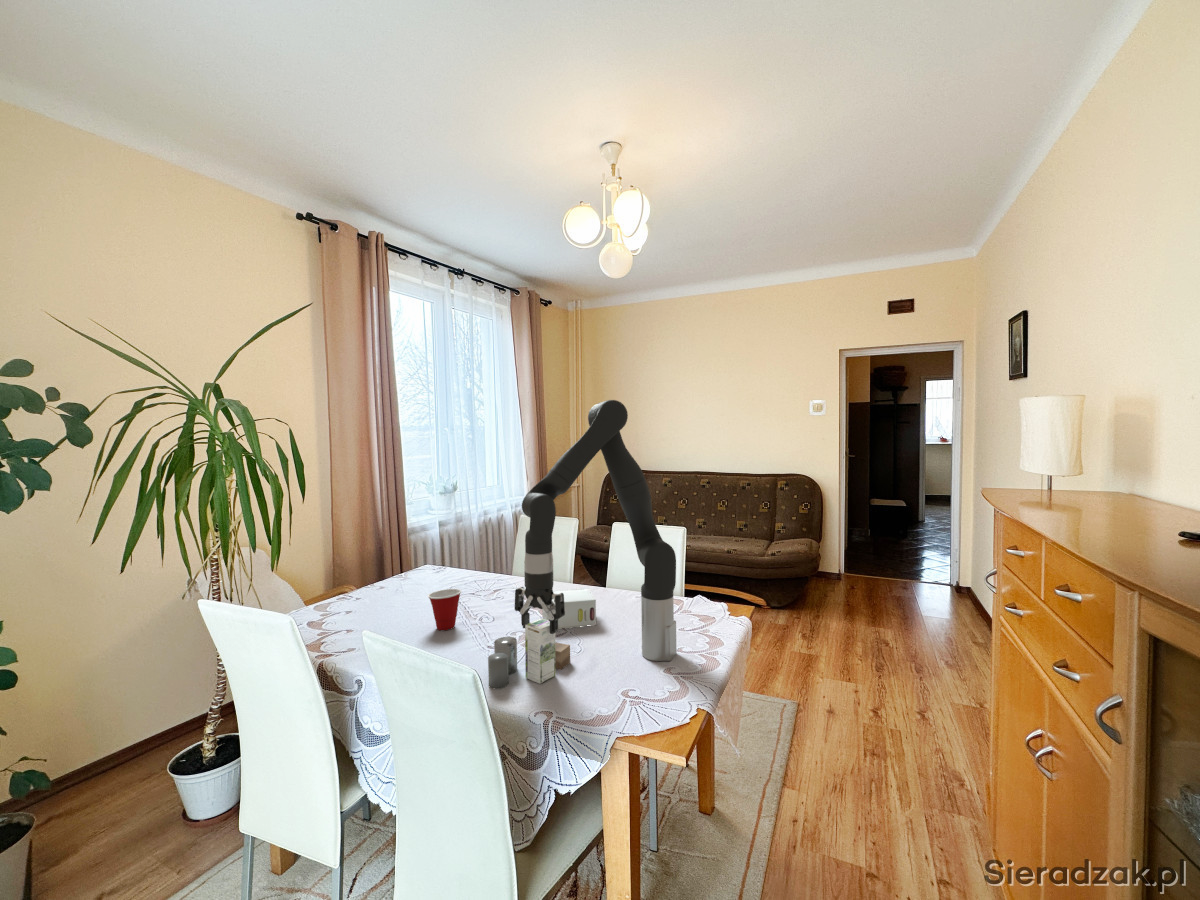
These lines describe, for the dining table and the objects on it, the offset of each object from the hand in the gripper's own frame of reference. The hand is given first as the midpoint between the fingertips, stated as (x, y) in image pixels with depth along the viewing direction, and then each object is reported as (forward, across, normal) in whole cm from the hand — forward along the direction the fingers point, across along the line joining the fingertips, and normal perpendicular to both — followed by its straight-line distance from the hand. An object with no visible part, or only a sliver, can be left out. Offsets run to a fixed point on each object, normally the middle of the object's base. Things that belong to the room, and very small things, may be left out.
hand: (539, 630), depth 132 cm
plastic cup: (+13, +49, -16) cm, 53 cm away
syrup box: (+13, 0, 0) cm, 13 cm away
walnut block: (+13, 0, -9) cm, 15 cm away
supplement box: (+13, +14, -38) cm, 42 cm away
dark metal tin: (+13, +11, 0) cm, 17 cm away
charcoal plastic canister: (+13, +8, +7) cm, 17 cm away
